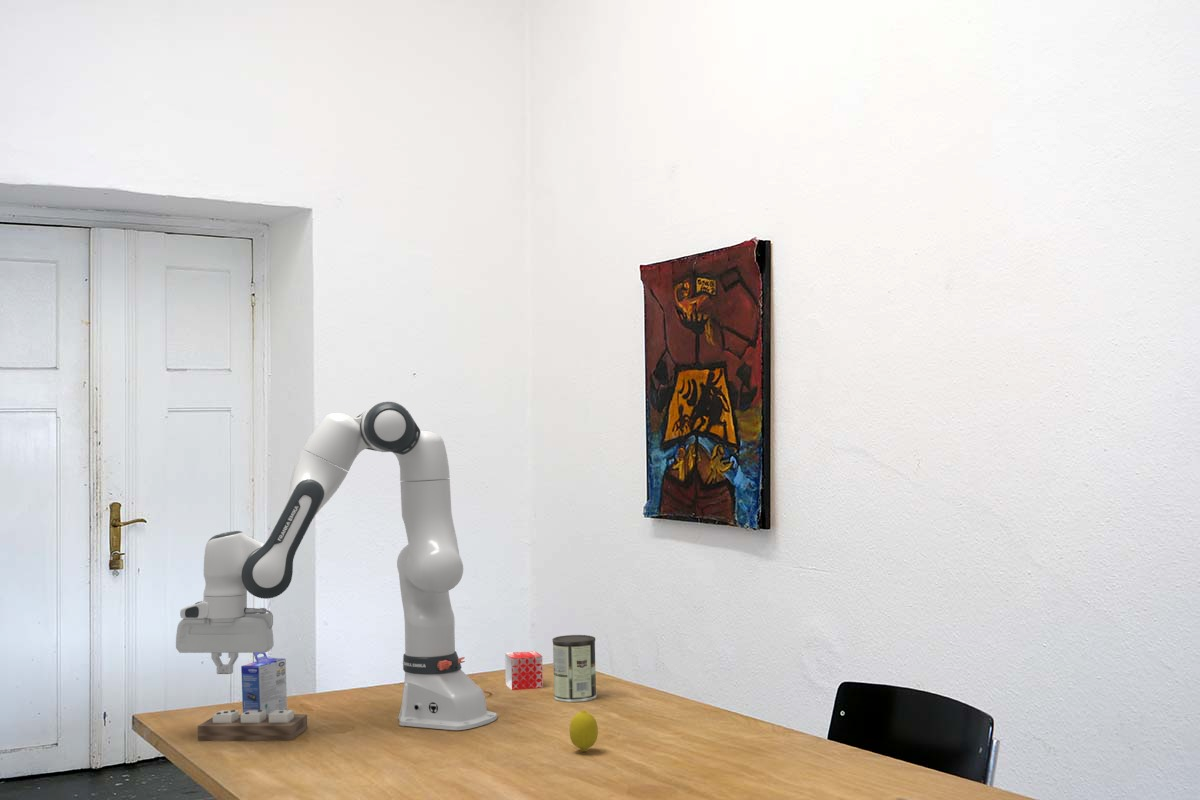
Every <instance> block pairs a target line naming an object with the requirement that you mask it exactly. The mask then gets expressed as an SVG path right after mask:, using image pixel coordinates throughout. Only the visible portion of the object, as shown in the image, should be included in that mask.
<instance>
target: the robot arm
mask: <svg viewBox="0 0 1200 800" xmlns="http://www.w3.org/2000/svg"><path fill="white" fill-rule="evenodd" d="M446 448H447V447H446V445H445V441H444V439H443V437H442V436H441V435H439V434H438V433H436V432H434V431H430V430H421V429H420V427H419V426H418V425H417V423H416V421H415V420H414V418H413V417H412V415H411V413H410V411H409V410H407V409H406V407H404V406H403V405H402V404H399V403H397V402H396V401H395V402H394V401H382V402H377V403H375V404H373V405H371V406H369V408H367V409H366V410H365V411H364V412H362V413H361V414H359V415H358V416H355V417H353V416H351V415H349V414H347V413H343V412H331V413H328V414H327V415H325V416H324V418H323V419H322V420H321V421H320V422H319V423H318V425H317V426H316V427H315V428H314V430H313V431H312V433H311V434H310V436H309V438H308V439H307V441H306V442H305V444H304V446H303V448H302V450H301V451H300V454H299V455H298V457H297V460H296V462H295V465H294V468H293V471H292V474H291V478H290V483H289V492H288V497H287V500H286V502H285V505H284V509H283V510H282V512H281V514H280V516H279V518H278V520H277V522H276V524H275V526H274V527H273V529H272V531H271V533H270V535H269V537H268V539H267V540H266V541H265V542H261V541H259V540H257V539H254V538H252V537H250V536H248V535H247V534H245V533H244V531H241V530H234V531H227V532H222V533H219V534H215V535H213V536H212V537H211V538H210V539H208V541H207V542H206V544H205V547H204V556H203V579H204V581H205V586H204V587H205V588H204V591H203V599H202V600H201V601H198V602H196V603H193V604H191V605H187V606H185V607H183V608H182V609H180V612H179V613H180V615H179V616H180V618H181V620H180V621H179V623H178V625H177V629H176V634H175V649H176V650H177V651H178V653H179V654H183V653H184V654H190V653H191V654H192V653H193V654H196V653H198V654H199V653H200V654H203V653H204V654H206V653H207V654H208V653H209V654H210V655H211V657H210V658H211V660H212V661H213V663H214V665H215V667H216V674H217V675H232V674H233V673H234V665H235V663H236V661H237V660H238V659H239V654H242V653H243V654H244V653H245V654H246V653H249V654H251V653H267V652H270V651H271V650H272V649H273V647H274V642H275V641H274V633H273V625H274V615H273V613H272V612H271V611H270V610H268V609H267V608H266V607H260V608H255V607H248V593H249V594H250V595H253V596H254V597H256V598H259V599H273V598H276V597H278V596H280V595H281V594H283V593H284V592H285V591H286V590H287V589H288V588H289V587H290V584H291V582H292V578H293V571H294V567H293V566H294V560H295V559H294V558H295V555H296V553H297V550H298V548H299V547H300V544H301V543H302V541H303V539H304V537H305V535H306V534H307V531H308V529H309V528H310V526H311V523H312V521H313V520H314V518H315V517H316V515H317V514H318V513H319V512H320V510H321V509H322V508H323V507H324V506H325V505H326V504H327V503H328V502H329V501H330V499H331V498H332V497H333V496H334V494H335V493H336V492H337V491H338V489H339V488H340V487H341V485H342V484H343V482H344V480H345V478H346V477H347V475H348V472H349V471H350V469H351V467H352V466H353V463H354V461H355V459H356V458H357V457H358V456H359V454H360V453H361V452H363V451H364V450H370V451H374V452H381V453H392V454H394V455H395V457H396V459H397V461H398V465H399V475H400V476H399V479H400V480H399V481H400V500H401V501H400V504H401V505H400V506H401V517H402V520H403V524H404V528H405V533H406V537H407V543H408V544H407V545H406V546H404V547H403V548H402V549H401V550H400V551H399V554H398V555H397V558H396V559H397V560H396V566H397V567H396V568H397V571H398V579H399V587H400V596H401V602H402V603H401V604H402V608H403V615H404V616H403V617H404V646H405V647H404V654H403V656H402V658H403V659H402V670H403V671H404V681H403V690H402V699H401V704H400V705H401V706H400V709H399V710H400V711H399V713H398V716H397V719H398V721H399V722H398V724H399V725H398V726H400V727H405V726H406V727H413V728H414V727H415V728H426V729H438V730H447V731H464V730H468V729H474V728H477V727H481V726H485V725H488V724H490V723H492V722H494V721H496V720H497V719H498V713H497V712H493V711H490V710H487V701H486V696H485V692H484V691H483V689H482V688H481V687H480V686H478V685H477V684H476V683H475V682H474V681H473V679H471V678H470V677H469V676H468V675H467V674H466V673H465V672H464V671H463V670H462V663H465V662H466V661H465V660H464V659H465V656H464V657H459V656H458V653H457V651H456V640H455V639H456V637H455V635H456V634H455V627H456V626H455V625H456V624H455V623H456V621H455V614H454V611H453V607H452V603H451V599H450V593H449V591H451V590H452V589H454V588H455V587H457V585H458V584H459V583H460V582H461V580H462V577H463V574H464V565H463V561H462V558H461V555H460V550H459V544H458V540H457V534H456V530H455V525H454V520H453V512H452V500H451V499H452V497H451V479H450V476H451V475H450V467H449V459H448V454H447V449H446ZM226 653H227V655H228V658H229V660H228V663H227V664H223V662H222V660H221V658H220V657H222V656H223V655H222V654H226Z"/></svg>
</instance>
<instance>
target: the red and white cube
mask: <svg viewBox="0 0 1200 800" xmlns="http://www.w3.org/2000/svg"><path fill="white" fill-rule="evenodd" d="M504 658H505V659H504V661H505V662H504V664H505V666H504V667H505V669H504V670H505V672H504V673H505V685H506V686H507V687H508V688H509V689H510V690H511V691H521V690H534V689H535V690H536V689H543V688H544V679H543V678H544V677H543V674H544V673H543V670H544V669H543V655H542V654H540V653H539V652H538V651H536V650H529V651H517V652H516V651H515V652H505V653H504Z"/></svg>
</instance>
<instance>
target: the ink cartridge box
mask: <svg viewBox="0 0 1200 800" xmlns="http://www.w3.org/2000/svg"><path fill="white" fill-rule="evenodd" d="M258 655H263V656H260V657H259V656H258ZM253 656H254V659H255V661H253V662H249V663H247V664H244V665H241V667H240V668H241V670H240V671H241V692H242V694H241V697H242V701H241V702H242V714H243V713H244V712H246V711H248V710H266V715H269V714H270V713H272V712H273V711H275V710H288V697H287V667H286V665H287V663H286V660H287V659H286V658H282V657H268V656H267V652H265V653H253Z"/></svg>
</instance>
